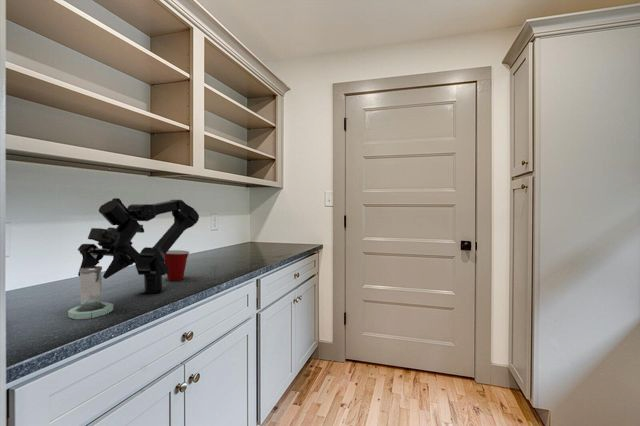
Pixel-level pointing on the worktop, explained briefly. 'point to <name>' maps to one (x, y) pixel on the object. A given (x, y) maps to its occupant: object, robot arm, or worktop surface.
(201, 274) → the worktop surface
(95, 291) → the glass jar
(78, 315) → the collar ring
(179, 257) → the plastic cup
